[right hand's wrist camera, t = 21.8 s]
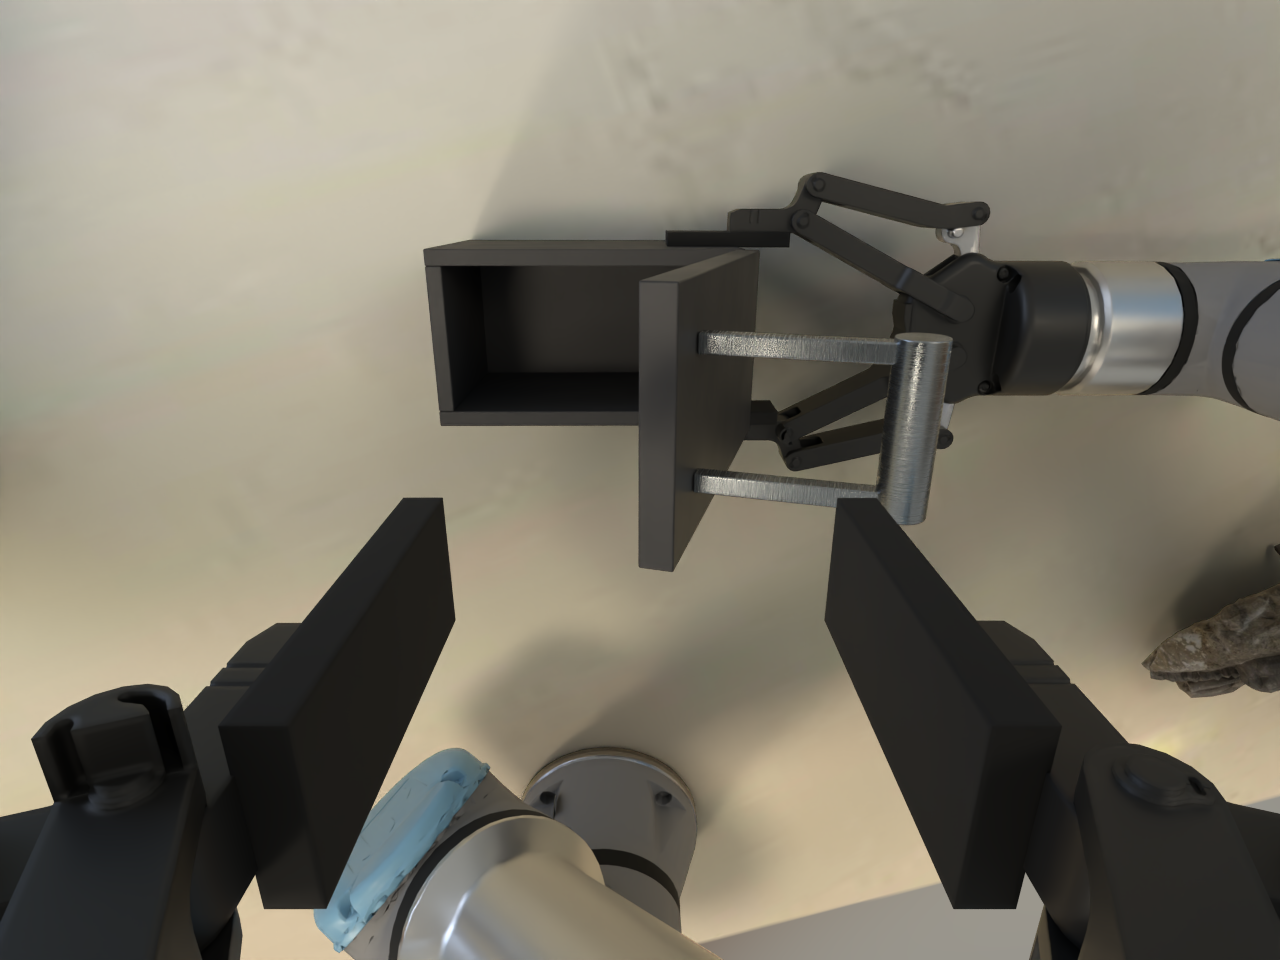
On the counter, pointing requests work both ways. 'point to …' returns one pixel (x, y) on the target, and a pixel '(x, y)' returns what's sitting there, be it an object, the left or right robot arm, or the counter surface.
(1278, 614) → the fossil
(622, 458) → the counter surface
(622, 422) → the chest
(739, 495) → the lid
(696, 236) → the left robot arm
